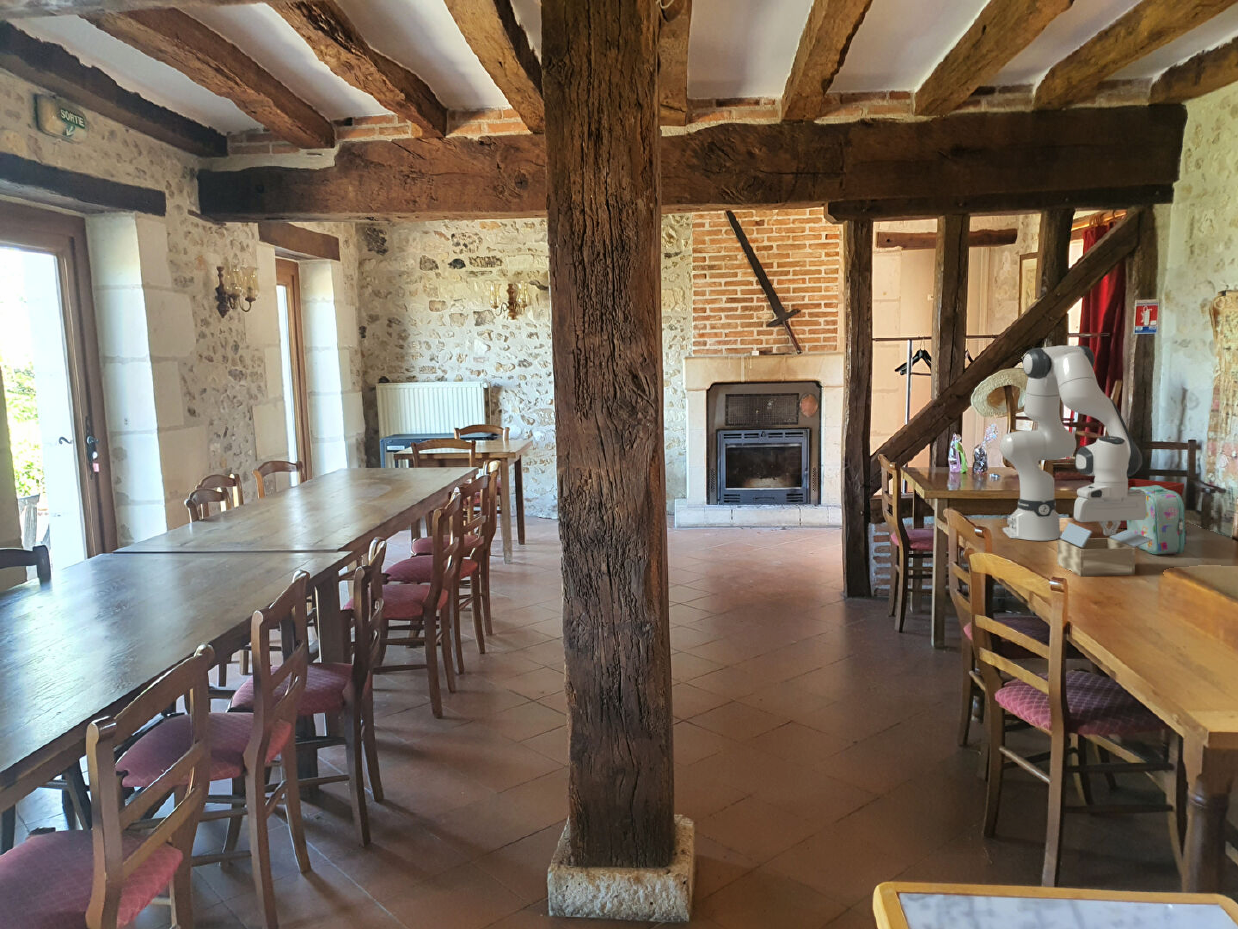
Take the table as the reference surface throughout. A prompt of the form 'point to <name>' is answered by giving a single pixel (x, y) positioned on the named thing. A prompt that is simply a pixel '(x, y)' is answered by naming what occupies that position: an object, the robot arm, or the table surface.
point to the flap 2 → (1131, 538)
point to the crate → (1097, 557)
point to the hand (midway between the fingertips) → (1109, 535)
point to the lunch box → (1161, 521)
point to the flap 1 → (1076, 535)
